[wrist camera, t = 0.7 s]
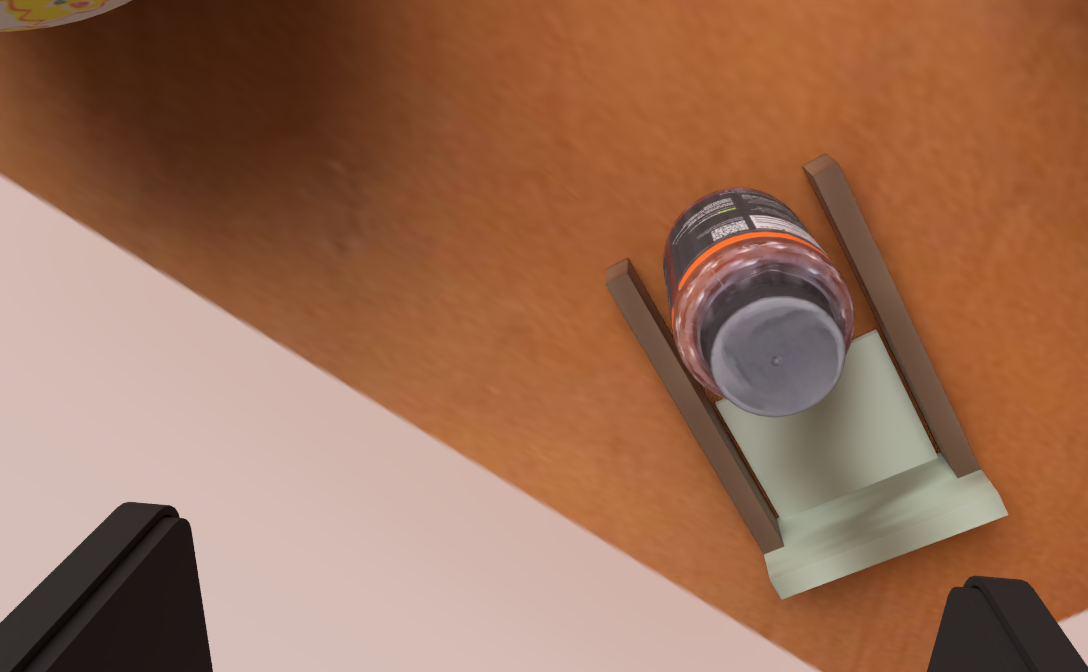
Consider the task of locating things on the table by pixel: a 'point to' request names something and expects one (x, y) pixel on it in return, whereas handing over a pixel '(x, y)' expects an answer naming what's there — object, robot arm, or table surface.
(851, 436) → the guide rail
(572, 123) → the table surface
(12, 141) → the table surface
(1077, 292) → the table surface
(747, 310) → the supplement bottle
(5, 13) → the flowerpot
